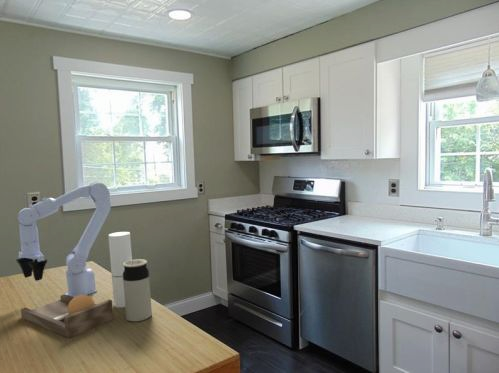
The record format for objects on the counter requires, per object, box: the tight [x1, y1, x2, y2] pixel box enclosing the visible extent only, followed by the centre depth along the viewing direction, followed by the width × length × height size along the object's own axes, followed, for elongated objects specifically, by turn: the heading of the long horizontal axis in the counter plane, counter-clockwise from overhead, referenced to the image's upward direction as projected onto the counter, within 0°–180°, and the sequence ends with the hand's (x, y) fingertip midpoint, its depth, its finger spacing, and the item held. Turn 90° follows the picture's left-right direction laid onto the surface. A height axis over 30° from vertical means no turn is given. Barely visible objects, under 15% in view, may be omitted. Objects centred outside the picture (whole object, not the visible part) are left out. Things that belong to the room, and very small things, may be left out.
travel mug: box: [123, 258, 153, 322], centre depth 122 cm, size 8×8×18 cm
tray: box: [20, 293, 114, 339], centre depth 124 cm, size 15×28×6 cm, turn 55°
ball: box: [68, 295, 96, 315], centre depth 121 cm, size 8×8×8 cm
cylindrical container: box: [107, 231, 133, 308], centre depth 133 cm, size 7×7×25 cm
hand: (33, 278), depth 138 cm, fingers open, 7 cm apart
